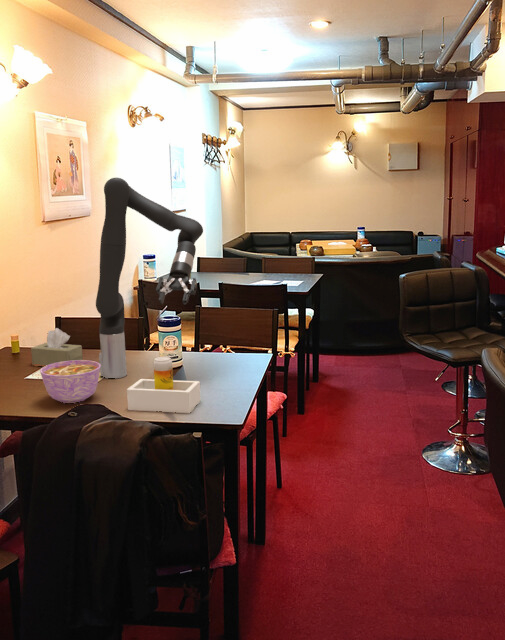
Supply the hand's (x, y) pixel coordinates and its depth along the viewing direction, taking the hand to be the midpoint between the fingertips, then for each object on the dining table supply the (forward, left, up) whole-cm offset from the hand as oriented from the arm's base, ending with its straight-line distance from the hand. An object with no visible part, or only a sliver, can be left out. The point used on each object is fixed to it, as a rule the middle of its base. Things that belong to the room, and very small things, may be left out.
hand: (172, 302), depth 226 cm
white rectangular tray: (+3, -21, -31) cm, 38 cm away
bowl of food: (-30, -20, -31) cm, 48 cm away
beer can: (+3, -21, -30) cm, 37 cm away
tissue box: (-59, +22, -31) cm, 70 cm away
